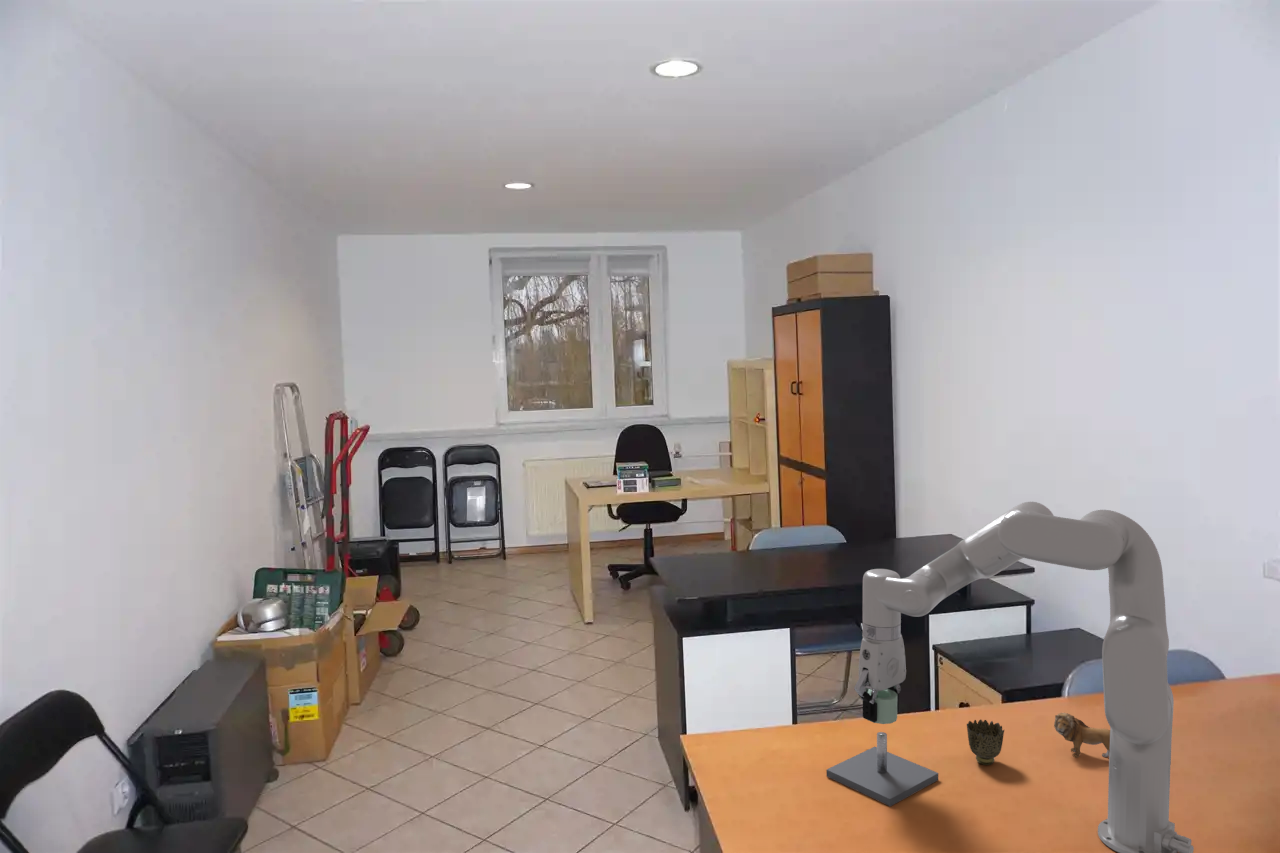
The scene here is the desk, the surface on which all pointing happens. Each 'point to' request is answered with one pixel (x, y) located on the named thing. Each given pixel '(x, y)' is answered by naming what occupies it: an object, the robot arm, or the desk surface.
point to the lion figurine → (1080, 733)
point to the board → (882, 776)
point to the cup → (985, 740)
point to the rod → (881, 752)
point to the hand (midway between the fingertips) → (880, 714)
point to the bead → (886, 706)
